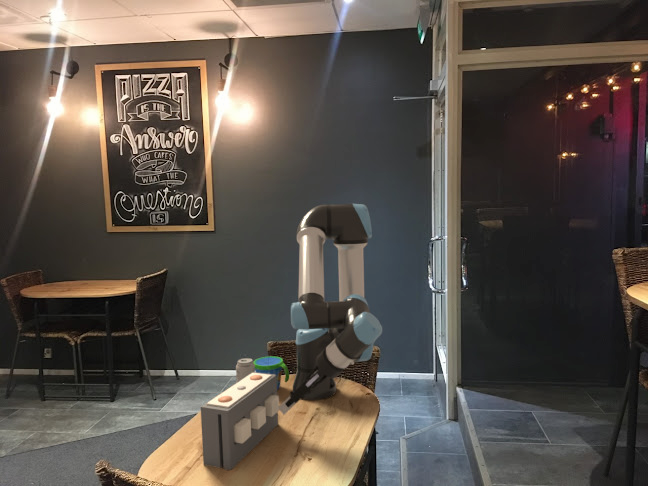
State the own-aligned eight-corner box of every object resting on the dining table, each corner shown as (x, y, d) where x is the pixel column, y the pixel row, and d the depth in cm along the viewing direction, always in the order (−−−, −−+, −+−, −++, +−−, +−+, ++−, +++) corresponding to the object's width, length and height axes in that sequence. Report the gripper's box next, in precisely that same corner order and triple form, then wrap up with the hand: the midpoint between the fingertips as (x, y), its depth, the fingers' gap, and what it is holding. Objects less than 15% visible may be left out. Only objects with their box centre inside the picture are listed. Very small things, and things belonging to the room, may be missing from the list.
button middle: (249, 427, 129) (248, 412, 129) (257, 420, 134) (257, 405, 133) (258, 429, 129) (257, 413, 128) (266, 422, 133) (265, 406, 132)
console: (203, 464, 123) (200, 406, 121) (254, 420, 147) (252, 371, 145) (230, 470, 120) (227, 411, 118) (278, 424, 144) (276, 374, 143)
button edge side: (233, 442, 122) (232, 425, 122) (242, 434, 126) (241, 417, 126) (242, 443, 121) (241, 426, 121) (251, 435, 125) (250, 419, 125)
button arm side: (264, 415, 137) (263, 400, 136) (271, 409, 141) (270, 394, 141) (272, 416, 136) (271, 401, 136) (279, 410, 140) (278, 395, 140)
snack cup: (242, 389, 171) (241, 361, 171) (261, 380, 180) (260, 353, 180) (278, 398, 163) (277, 368, 162) (295, 387, 172) (294, 359, 171)
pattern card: (206, 404, 123) (206, 402, 122) (252, 373, 144) (252, 372, 144) (228, 408, 120) (228, 405, 120) (271, 376, 141) (271, 374, 141)
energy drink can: (252, 409, 155) (251, 363, 153) (235, 408, 156) (233, 363, 155) (258, 401, 161) (256, 357, 159) (241, 400, 162) (239, 357, 160)
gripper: (336, 377, 123) (280, 430, 130) (352, 361, 135) (300, 411, 142) (316, 355, 124) (262, 409, 132) (334, 341, 136) (283, 391, 144)
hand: (281, 410), depth 137 cm, fingers closed
